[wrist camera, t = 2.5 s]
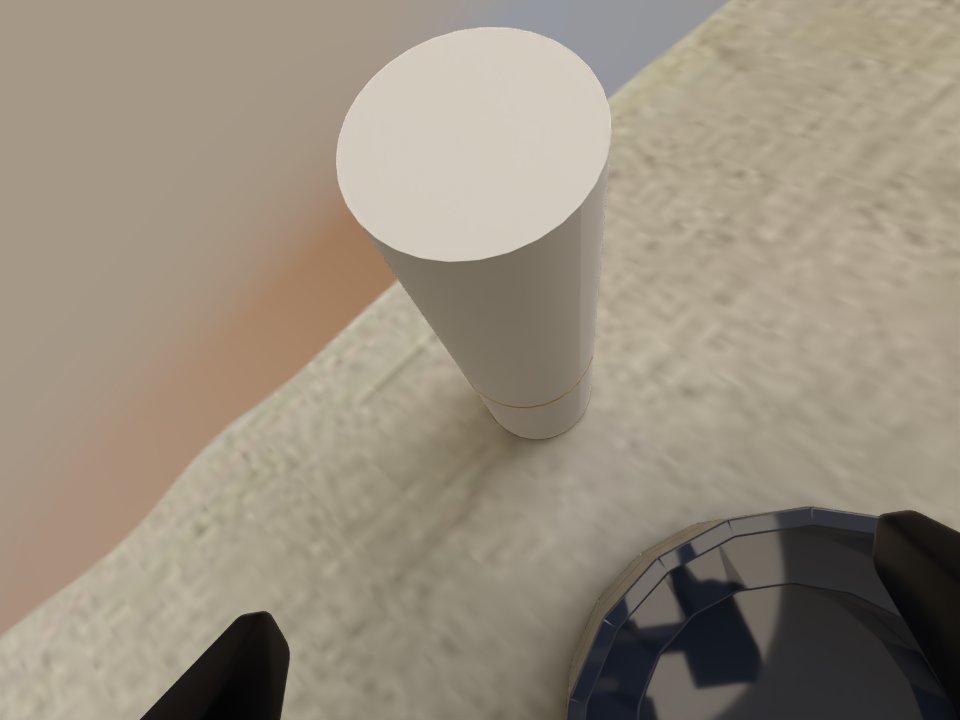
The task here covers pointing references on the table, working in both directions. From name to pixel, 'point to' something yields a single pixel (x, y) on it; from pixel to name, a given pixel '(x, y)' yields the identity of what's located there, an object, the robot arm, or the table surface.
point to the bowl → (754, 629)
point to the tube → (491, 209)
